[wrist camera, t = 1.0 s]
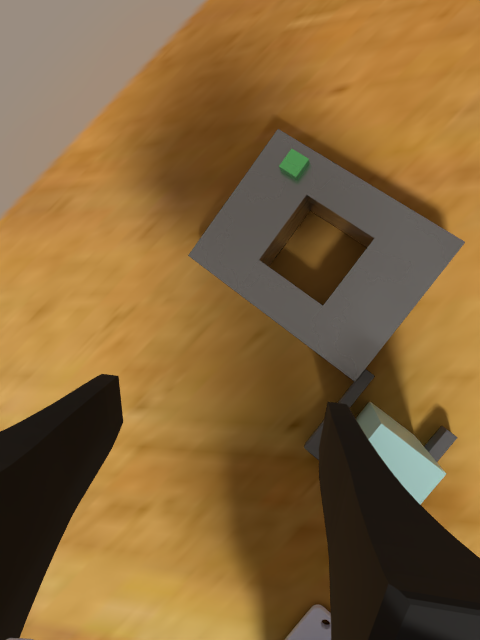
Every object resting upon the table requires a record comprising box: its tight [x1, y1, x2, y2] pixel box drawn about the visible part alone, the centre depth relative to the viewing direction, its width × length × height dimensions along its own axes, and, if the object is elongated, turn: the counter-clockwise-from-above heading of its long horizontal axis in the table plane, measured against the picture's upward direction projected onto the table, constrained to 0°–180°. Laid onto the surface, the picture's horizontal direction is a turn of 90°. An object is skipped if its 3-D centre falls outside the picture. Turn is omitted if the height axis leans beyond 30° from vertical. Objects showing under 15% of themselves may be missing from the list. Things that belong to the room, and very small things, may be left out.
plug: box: [356, 401, 446, 504], centre depth 19 cm, size 3×3×7 cm
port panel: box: [188, 129, 465, 381], centre depth 23 cm, size 12×9×3 cm
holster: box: [304, 369, 457, 462], centre depth 22 cm, size 6×6×1 cm
